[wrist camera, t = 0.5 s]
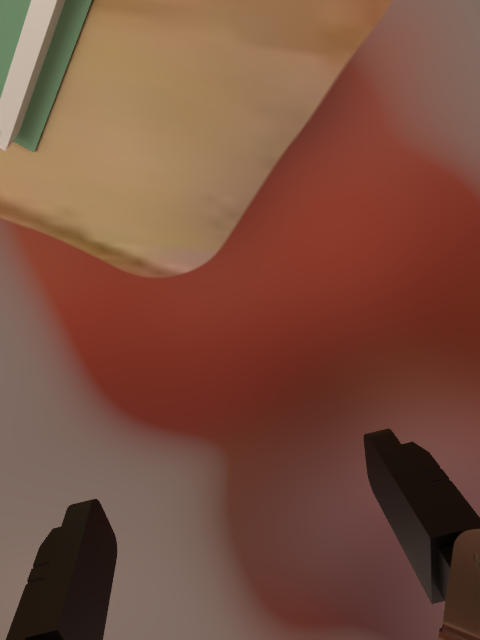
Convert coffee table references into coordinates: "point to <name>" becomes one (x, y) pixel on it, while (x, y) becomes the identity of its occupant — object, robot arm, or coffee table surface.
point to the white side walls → (27, 66)
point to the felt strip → (3, 35)
